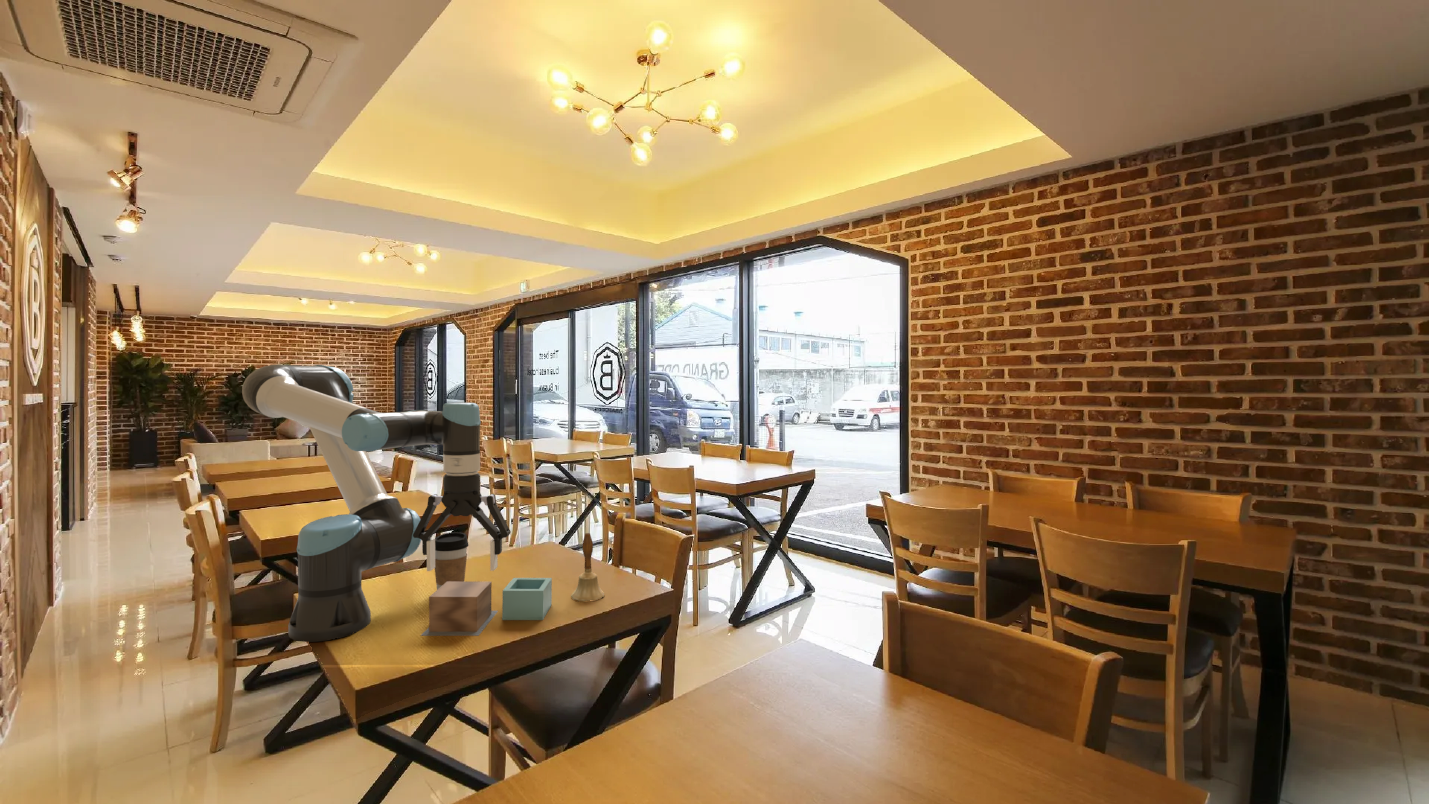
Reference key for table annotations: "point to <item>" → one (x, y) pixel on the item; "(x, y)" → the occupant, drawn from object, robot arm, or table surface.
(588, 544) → the hand bell
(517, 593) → the mint square pot
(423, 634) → the mat
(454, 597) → the brown wooden block
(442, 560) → the coffee cup
